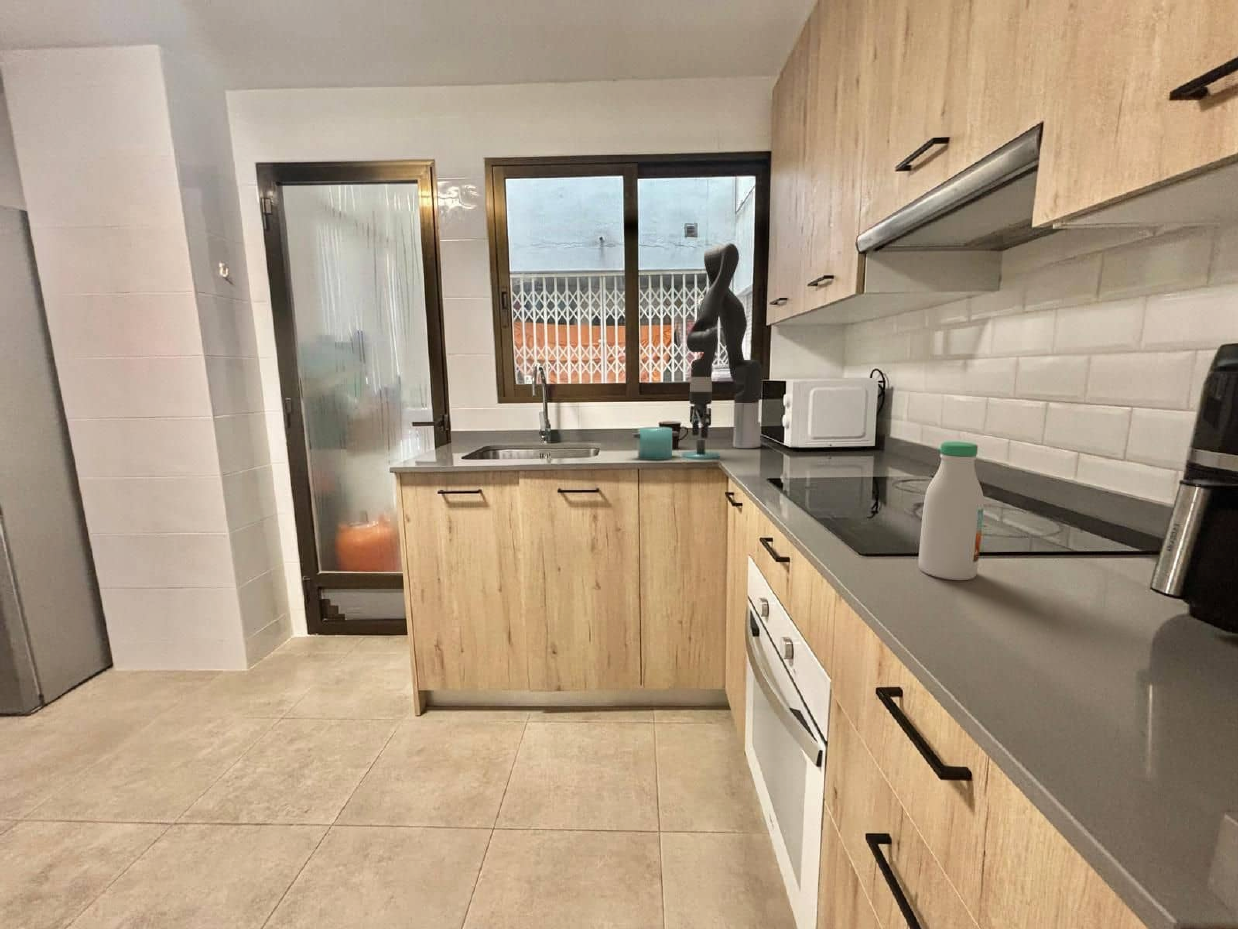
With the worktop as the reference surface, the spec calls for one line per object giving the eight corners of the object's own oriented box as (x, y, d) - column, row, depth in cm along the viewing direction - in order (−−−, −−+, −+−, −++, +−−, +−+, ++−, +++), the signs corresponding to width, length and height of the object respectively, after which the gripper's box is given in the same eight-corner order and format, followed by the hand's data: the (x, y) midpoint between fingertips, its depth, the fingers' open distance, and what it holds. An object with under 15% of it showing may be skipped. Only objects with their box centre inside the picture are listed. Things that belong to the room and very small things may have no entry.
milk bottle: (963, 586, 77) (977, 449, 73) (908, 570, 83) (919, 443, 80) (985, 573, 81) (1000, 443, 78) (931, 559, 88) (943, 438, 84)
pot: (671, 453, 196) (671, 426, 195) (682, 458, 185) (683, 429, 183) (628, 455, 193) (628, 427, 191) (637, 461, 181) (636, 431, 180)
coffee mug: (654, 447, 211) (654, 422, 209) (672, 445, 215) (672, 420, 213) (670, 451, 201) (671, 424, 199) (689, 449, 205) (690, 423, 203)
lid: (709, 452, 198) (709, 436, 196) (726, 457, 185) (726, 440, 184) (676, 455, 194) (676, 439, 193) (691, 460, 182) (691, 443, 181)
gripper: (719, 390, 179) (717, 438, 182) (703, 389, 193) (702, 434, 196) (698, 391, 178) (696, 439, 181) (683, 389, 192) (682, 434, 194)
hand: (699, 436), depth 188 cm, fingers open, 8 cm apart
